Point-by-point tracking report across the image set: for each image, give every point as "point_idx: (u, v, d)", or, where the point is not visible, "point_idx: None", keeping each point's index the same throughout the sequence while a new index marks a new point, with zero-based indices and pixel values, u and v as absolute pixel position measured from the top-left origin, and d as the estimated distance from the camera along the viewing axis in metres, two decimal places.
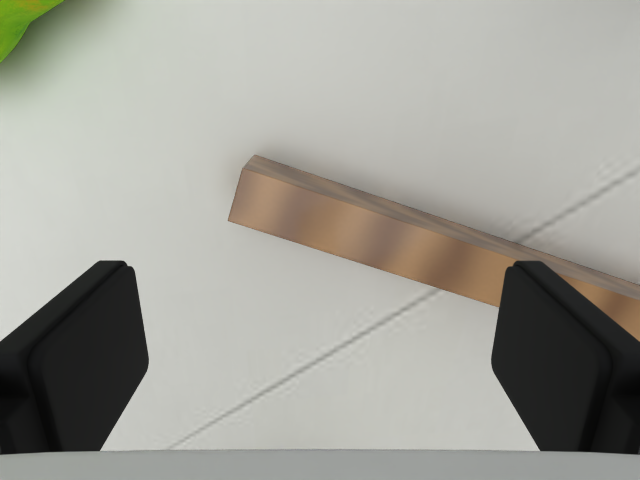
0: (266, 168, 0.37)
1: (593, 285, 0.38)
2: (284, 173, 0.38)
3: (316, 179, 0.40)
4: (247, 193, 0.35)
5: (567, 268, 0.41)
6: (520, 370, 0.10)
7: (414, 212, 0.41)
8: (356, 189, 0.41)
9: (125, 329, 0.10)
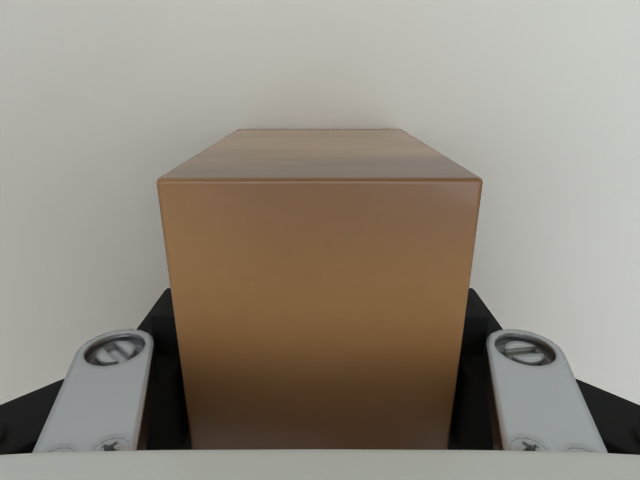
0: None
1: None
2: None
3: None
4: (349, 240, 0.06)
5: None
6: None
7: None
8: None
9: None
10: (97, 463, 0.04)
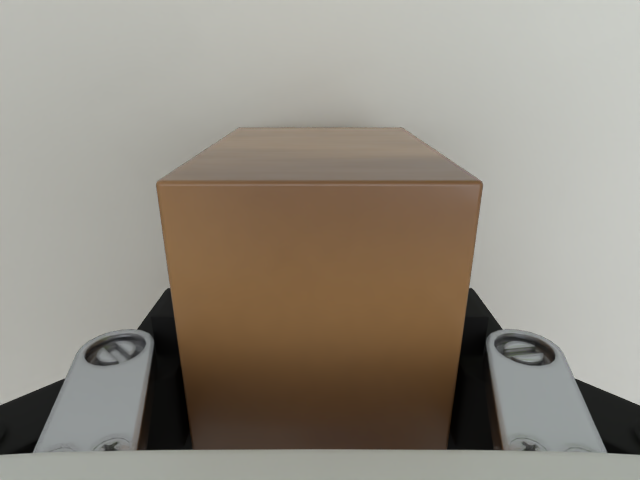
0: None
1: None
2: None
3: None
4: (349, 243, 0.06)
5: None
6: None
7: None
8: None
9: None
10: (97, 463, 0.04)
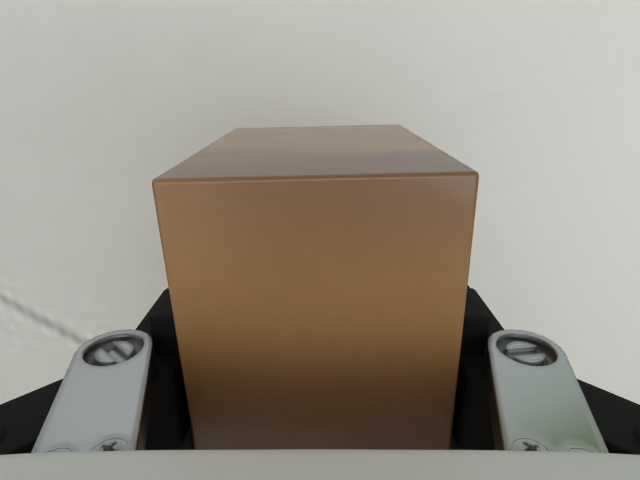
0: None
1: None
2: None
3: None
4: (346, 237, 0.06)
5: None
6: None
7: None
8: None
9: None
10: (97, 463, 0.04)
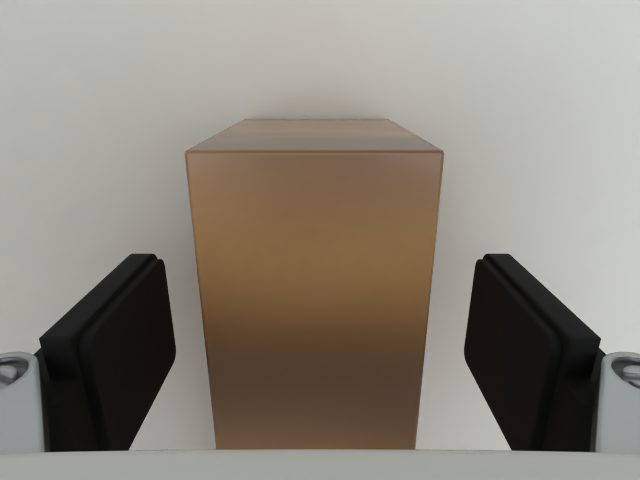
0: None
1: None
2: None
3: None
4: (338, 201, 0.08)
5: None
6: (487, 358, 0.10)
7: None
8: None
9: (157, 319, 0.10)
10: (97, 463, 0.04)
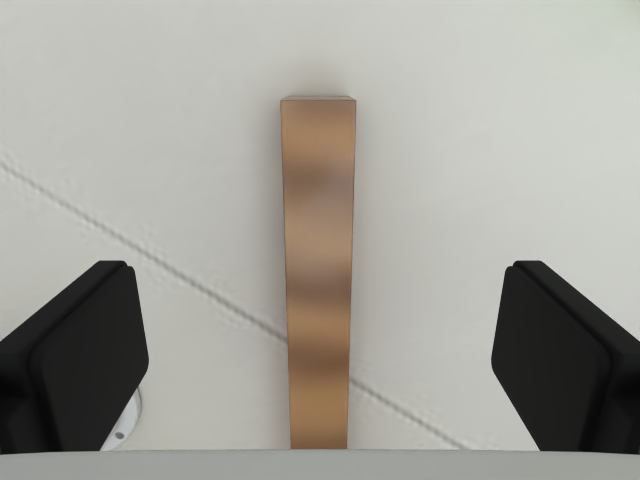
0: None
1: None
2: None
3: None
4: (325, 115, 0.27)
5: None
6: (520, 370, 0.10)
7: None
8: None
9: (125, 329, 0.10)
10: (97, 463, 0.04)
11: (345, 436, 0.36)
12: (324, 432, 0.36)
